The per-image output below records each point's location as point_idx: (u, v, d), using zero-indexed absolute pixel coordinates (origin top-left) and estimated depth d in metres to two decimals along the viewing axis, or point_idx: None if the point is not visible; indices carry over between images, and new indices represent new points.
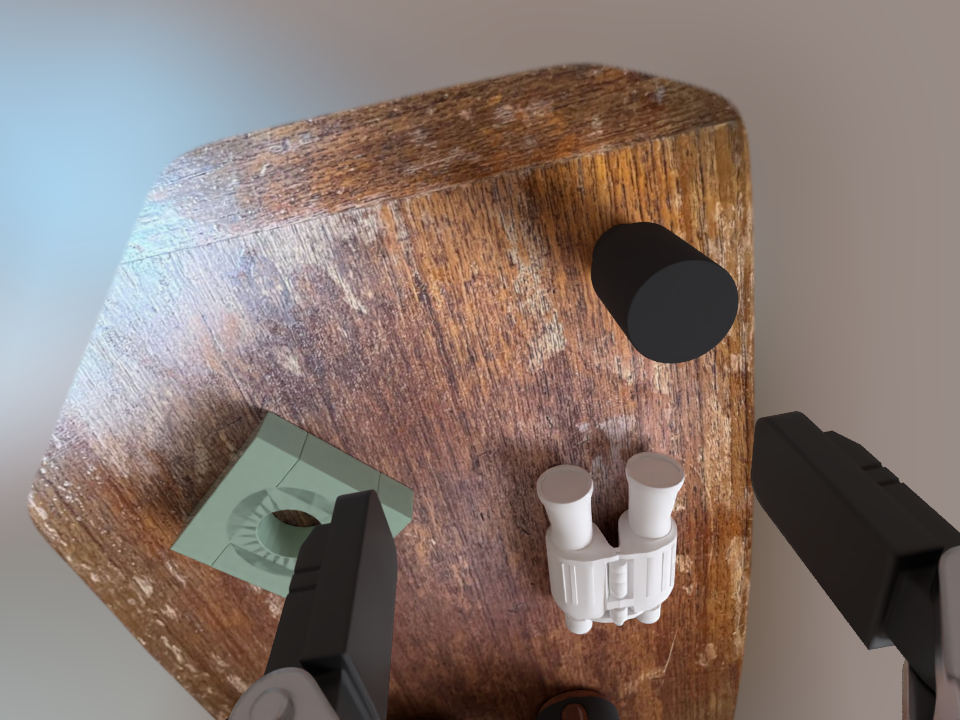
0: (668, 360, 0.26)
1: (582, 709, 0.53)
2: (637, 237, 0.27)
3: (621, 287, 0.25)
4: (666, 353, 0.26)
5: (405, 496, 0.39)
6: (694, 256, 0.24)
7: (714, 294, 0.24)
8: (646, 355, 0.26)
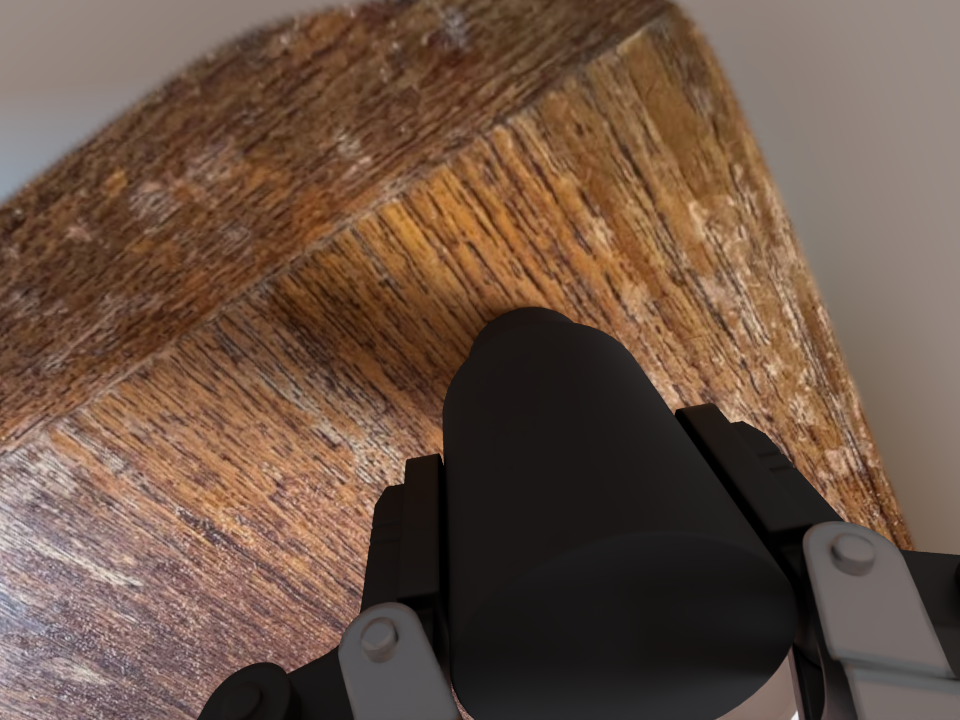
0: None
1: None
2: (482, 399, 0.11)
3: (447, 590, 0.09)
4: None
5: None
6: (591, 515, 0.07)
7: (701, 598, 0.07)
8: None
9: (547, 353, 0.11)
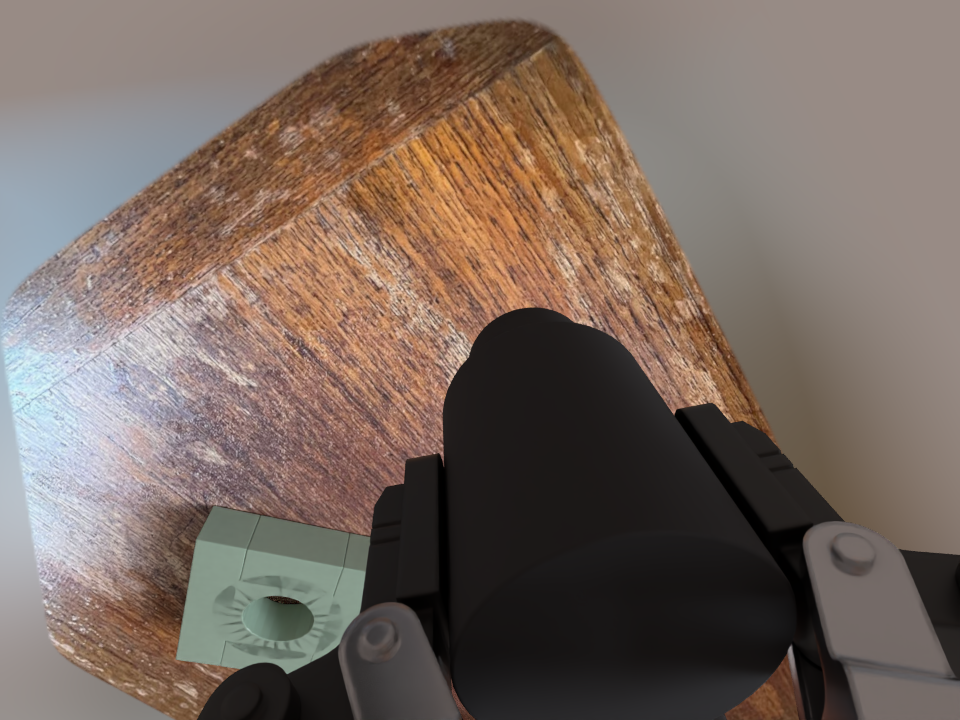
0: None
1: None
2: (483, 399, 0.11)
3: None
4: None
5: None
6: (591, 515, 0.07)
7: (701, 596, 0.07)
8: None
9: (547, 353, 0.11)
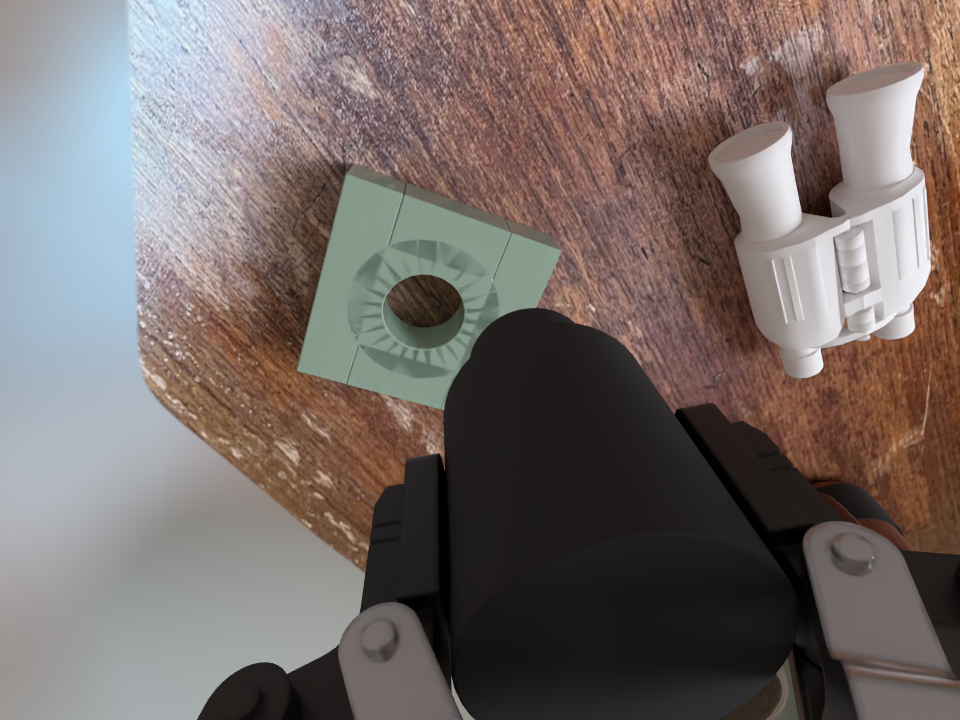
0: None
1: None
2: (484, 400, 0.11)
3: None
4: None
5: (543, 236, 0.31)
6: (592, 517, 0.07)
7: (702, 598, 0.07)
8: None
9: (548, 354, 0.11)
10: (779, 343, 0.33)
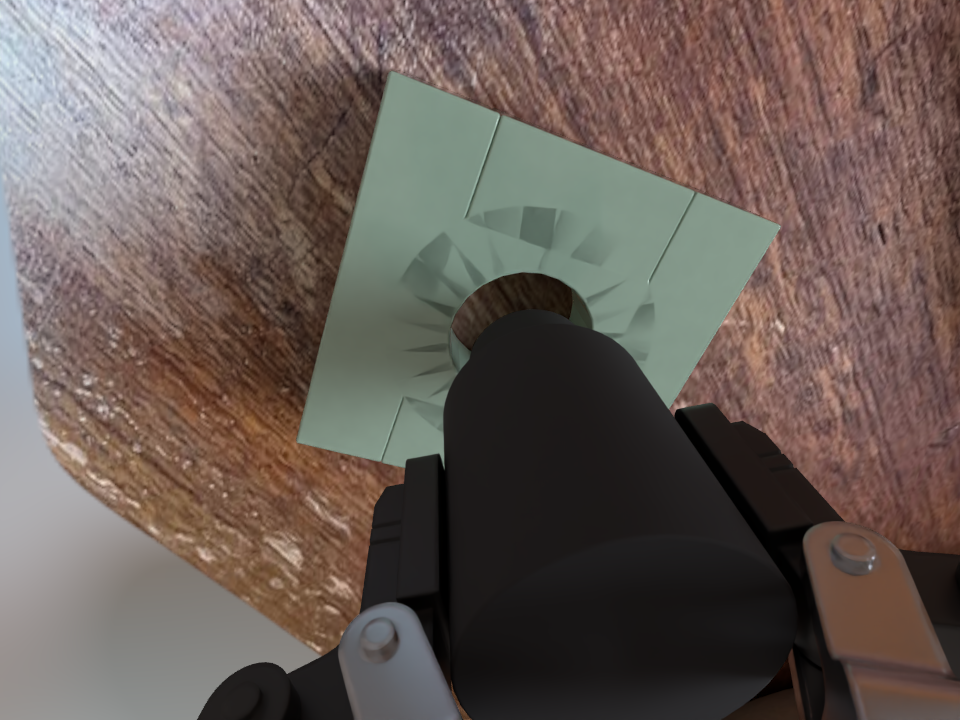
0: None
1: None
2: (483, 402, 0.11)
3: None
4: None
5: (731, 203, 0.17)
6: (591, 519, 0.07)
7: (701, 601, 0.07)
8: None
9: (548, 355, 0.11)
10: None
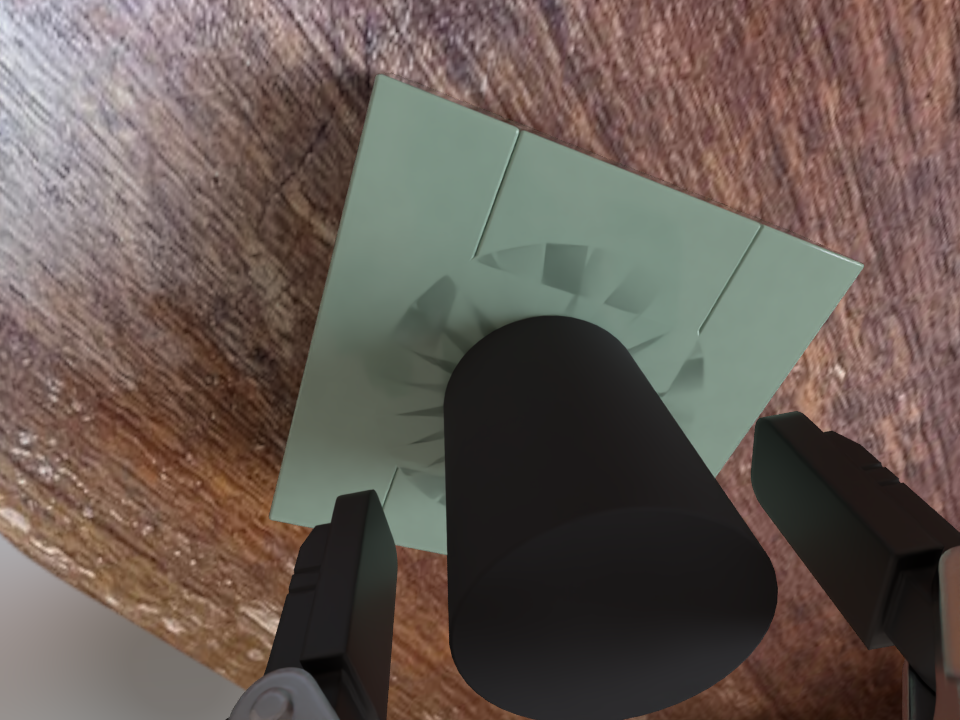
0: (630, 713, 0.10)
1: None
2: (481, 389, 0.11)
3: (447, 568, 0.10)
4: (616, 705, 0.09)
5: (795, 234, 0.14)
6: (581, 493, 0.08)
7: (685, 571, 0.08)
8: None
9: (543, 345, 0.12)
10: None
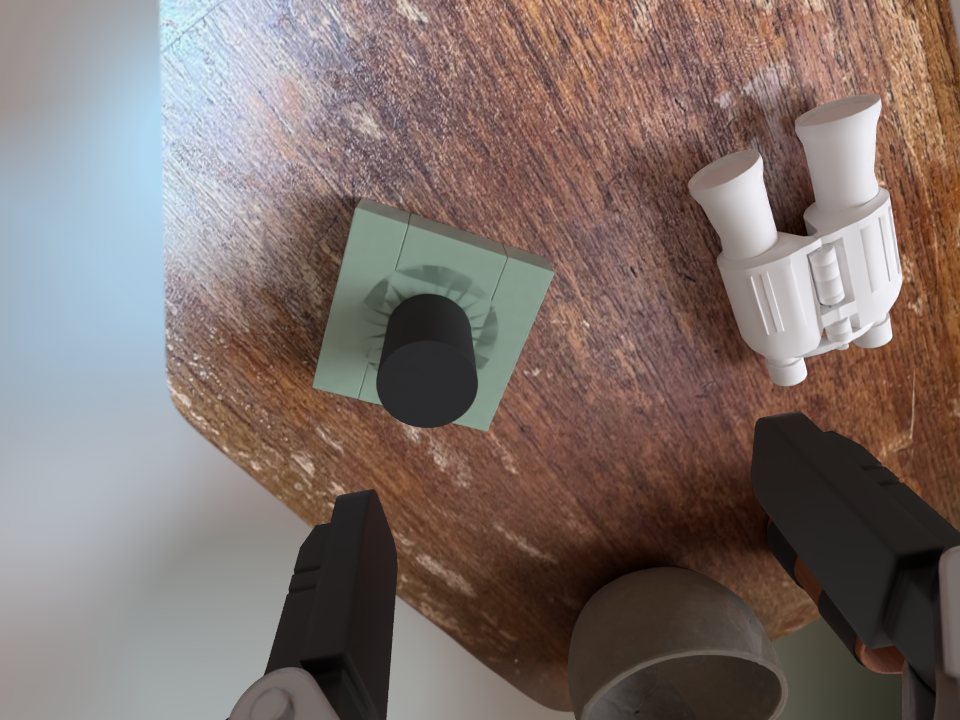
0: (440, 423, 0.29)
1: None
2: (395, 319, 0.30)
3: None
4: (435, 419, 0.28)
5: (538, 259, 0.34)
6: (411, 338, 0.27)
7: (444, 362, 0.27)
8: (418, 426, 0.29)
9: (419, 303, 0.31)
10: (763, 353, 0.36)
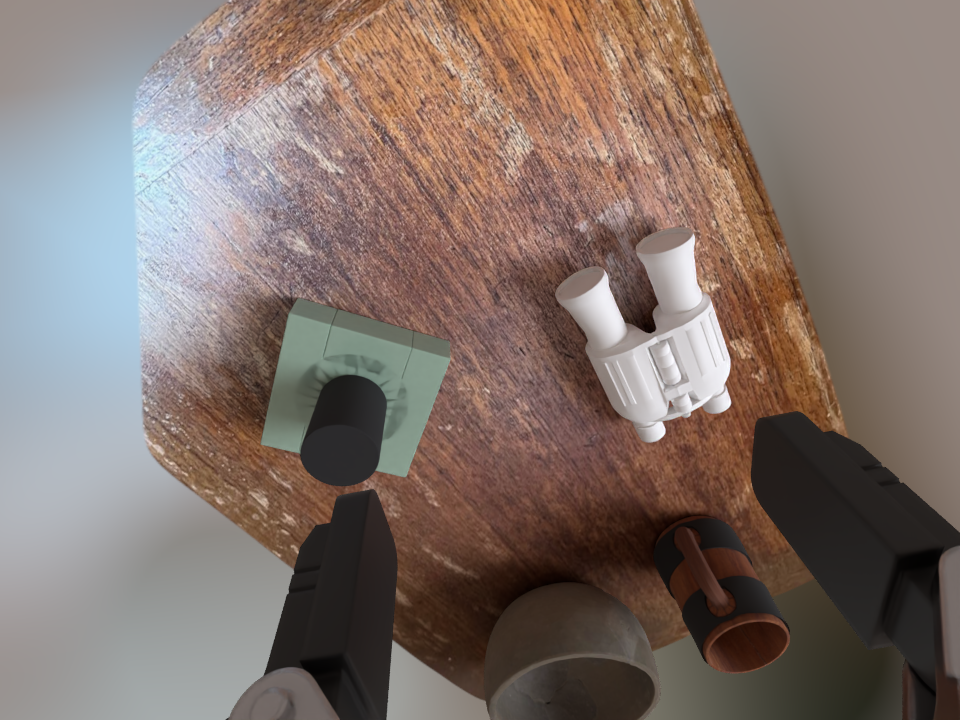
0: (352, 483, 0.37)
1: (693, 531, 0.53)
2: (321, 398, 0.39)
3: None
4: (347, 479, 0.37)
5: (441, 344, 0.42)
6: (326, 422, 0.35)
7: (351, 440, 0.35)
8: (335, 484, 0.37)
9: (340, 385, 0.39)
10: (626, 418, 0.44)
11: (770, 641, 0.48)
